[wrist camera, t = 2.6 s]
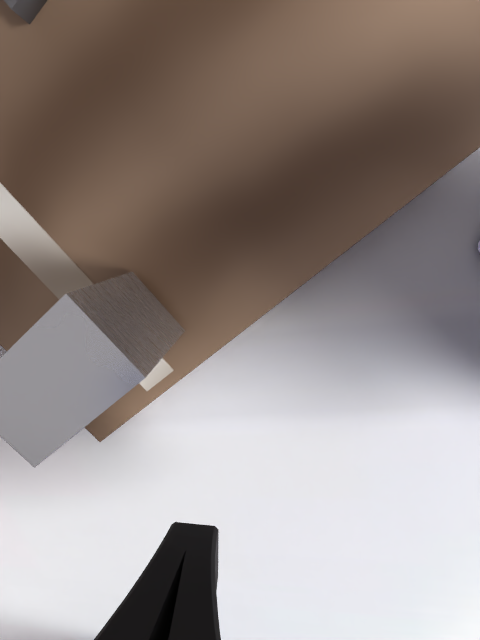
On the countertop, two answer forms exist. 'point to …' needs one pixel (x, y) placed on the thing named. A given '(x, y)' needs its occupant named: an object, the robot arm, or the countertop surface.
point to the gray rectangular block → (80, 362)
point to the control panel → (216, 150)
